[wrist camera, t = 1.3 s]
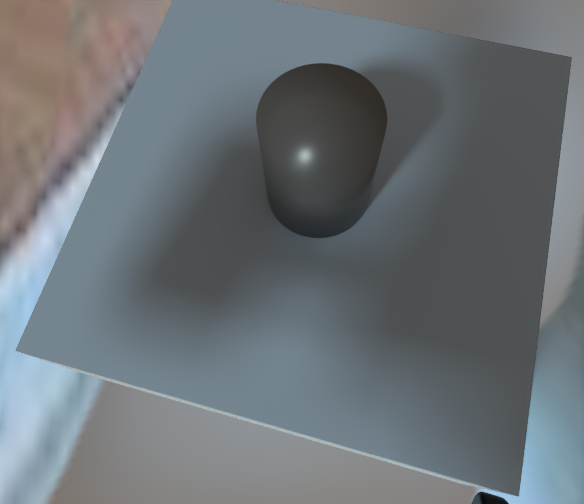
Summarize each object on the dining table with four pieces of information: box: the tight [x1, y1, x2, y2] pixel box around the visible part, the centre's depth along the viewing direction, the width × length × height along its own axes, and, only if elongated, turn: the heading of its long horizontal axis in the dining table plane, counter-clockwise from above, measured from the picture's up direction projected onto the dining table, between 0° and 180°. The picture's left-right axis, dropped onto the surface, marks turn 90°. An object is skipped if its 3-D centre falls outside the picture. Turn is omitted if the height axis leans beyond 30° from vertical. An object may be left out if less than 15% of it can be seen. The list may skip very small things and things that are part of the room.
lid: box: [15, 0, 571, 496], centre depth 18 cm, size 16×16×6 cm
